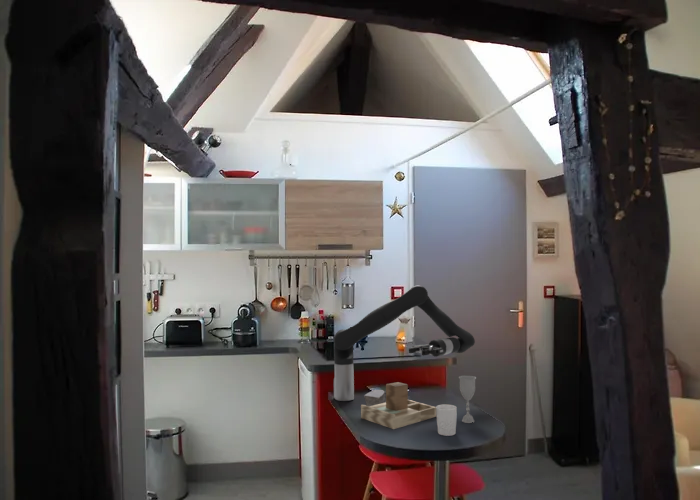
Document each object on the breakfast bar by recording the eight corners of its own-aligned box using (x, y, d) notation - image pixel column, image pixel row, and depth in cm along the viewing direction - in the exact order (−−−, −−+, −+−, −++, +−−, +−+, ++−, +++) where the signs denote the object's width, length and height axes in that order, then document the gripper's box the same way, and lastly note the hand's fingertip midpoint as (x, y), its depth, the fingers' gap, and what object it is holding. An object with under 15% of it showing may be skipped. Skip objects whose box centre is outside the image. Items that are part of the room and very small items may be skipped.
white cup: (434, 430, 208) (433, 404, 208) (453, 429, 208) (453, 403, 209) (439, 437, 200) (438, 410, 200) (459, 436, 201) (459, 409, 201)
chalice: (477, 419, 221) (477, 376, 221) (476, 424, 214) (475, 379, 215) (460, 418, 223) (459, 375, 223) (458, 422, 217) (457, 378, 217)
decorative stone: (365, 413, 233) (388, 412, 233) (364, 397, 234) (387, 396, 234) (364, 404, 248) (385, 403, 248) (363, 389, 248) (384, 388, 248)
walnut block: (385, 407, 225) (386, 384, 225) (397, 405, 229) (397, 382, 230) (395, 410, 220) (395, 386, 221) (407, 408, 225) (407, 384, 225)
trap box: (361, 417, 225) (360, 405, 225) (402, 406, 241) (402, 394, 241) (393, 429, 210) (393, 415, 210) (436, 416, 226) (435, 403, 226)
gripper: (429, 337, 249) (404, 341, 238) (452, 340, 238) (427, 345, 227) (429, 353, 249) (404, 358, 238) (453, 357, 237) (428, 362, 227)
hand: (415, 351), depth 233 cm, fingers open, 7 cm apart
